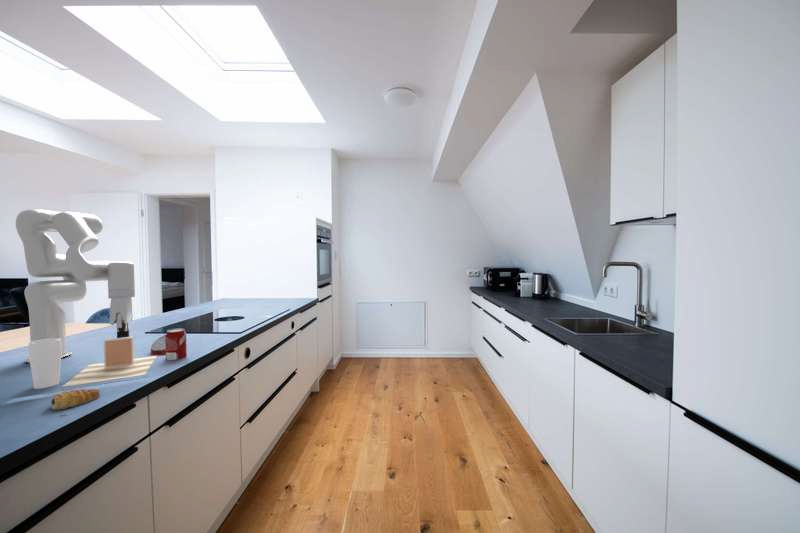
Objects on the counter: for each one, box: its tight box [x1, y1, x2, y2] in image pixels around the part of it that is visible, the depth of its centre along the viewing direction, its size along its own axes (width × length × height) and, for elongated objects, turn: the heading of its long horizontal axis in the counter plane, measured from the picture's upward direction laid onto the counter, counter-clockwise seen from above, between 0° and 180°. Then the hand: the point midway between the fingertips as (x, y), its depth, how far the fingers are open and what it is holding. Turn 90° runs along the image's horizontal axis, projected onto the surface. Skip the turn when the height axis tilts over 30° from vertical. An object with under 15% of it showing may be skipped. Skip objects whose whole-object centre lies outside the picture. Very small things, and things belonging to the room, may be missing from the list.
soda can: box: [164, 327, 188, 361], centre depth 122 cm, size 7×7×12 cm
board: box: [61, 355, 158, 391], centre depth 109 cm, size 24×20×1 cm
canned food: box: [150, 334, 166, 356], centre depth 131 cm, size 11×10×10 cm
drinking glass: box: [28, 338, 62, 390], centre depth 95 cm, size 7×7×15 cm
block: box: [103, 335, 135, 368], centre depth 113 cm, size 2×8×10 cm, turn 121°
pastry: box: [50, 388, 101, 411], centre depth 86 cm, size 9×7×4 cm
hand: (123, 341), depth 118 cm, fingers closed
